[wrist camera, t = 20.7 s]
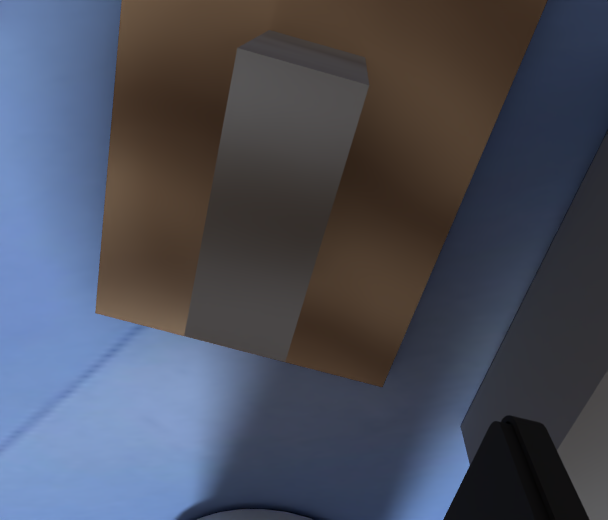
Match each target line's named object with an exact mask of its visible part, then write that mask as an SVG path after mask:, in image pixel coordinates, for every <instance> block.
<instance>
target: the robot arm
mask: <svg viewBox="0 0 608 520" xmlns="http://www.w3.org/2000/svg"><path fill="white" fill-rule="evenodd" d="M197 520H313V519H311V518H308V517H304V516H300V515H296V514H292V513H289V512H283V511H275V510H267V509H238V510H231V511H224V512H218V513H215V514H212V515H208V516H205V517H202V518H199V519H197ZM443 520H590V519H589V517H588V515H587V513H586V511H585V509H584V507H583V505H582V502H581V500H580V498H579V496H578V494H577V492H576V490H575V488H574V486H573V483H572V481H571V479H570V477H569V475H568V473H567V471H566V469H565V467H564V464H563V462H562V460H561V458H560V456H559V454H558V452H557V450H556V448H555V445H554V443H553V441H552V439H551V437H550V435H549V433H548V431H547V429H546V427H545V426H544V424H542V423H540V422H536V421H532V420H528V419H524V418H519V417H515V416H511V415H507V416H505V417H504V418H503V419H502V420H501V422H499V421H494V422H492V423H491V425H490V426H489V428H488V430H487V432H486V434H485V436H484V438H483V440H482V442H481V444H480V446H479V448H478V450H477V453H476V455H475V457H474V459H473V461H472V463H471V465H470V467H469V469H468V471H467V473H466V475H465V477H464V479H463V481H462V483H461V485H460V487H459V489H458V491H457V493H456V495H455V497H454V499H453V501H452V503H451V505H450V507H449V509H448V511H447V513H446V515H445V517H444V519H443Z"/></svg>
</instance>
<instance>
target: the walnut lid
mask: <svg viewBox="0 0 608 520" xmlns="http://www.w3.org/2000/svg"><path fill="white" fill-rule="evenodd" d="M547 1H548V0H122V3H121V15H120V27H119V39H118V51H117V62H116V74H115V86H114V98H113V110H112V122H111V134H110V146H109V157H108V169H107V181H106V193H105V205H104V217H103V229H102V241H101V252H100V264H99V276H98V288H97V300H96V312H95V313H97V314H101V315H105V316H109V317H113V318H116V319H120V320H124V321H128V322H132V323H136V324H140V325H143V326H147V327H151V328H155V329H159V330H163V331H167V332H171V333H174V334H178V335H182V336H186V337H190V338H194V339H198V340H201V341H205V342H209V343H213V344H217V345H221V346H225V347H229V348H232V349H236V350H240V351H244V352H248V353H252V354H256V355H259V356H263V357H267V358H271V359H275V360H279V361H283V362H287V363H290V364H294V365H298V366H302V367H306V368H310V369H314V370H317V371H321V372H325V373H329V374H333V375H337V376H341V377H345V378H348V379H352V380H356V381H360V382H364V383H368V384H372V385H376V386H379V387H383V385H384V382H385V380H386V378H387V375H388V373H389V371H390V368H391V366H392V364H393V361H394V359H395V357H396V354H397V352H398V350H399V347H400V345H401V343H402V340H403V338H404V336H405V333H406V331H407V329H408V326H409V324H410V322H411V319H412V317H413V315H414V312H415V310H416V308H417V305H418V303H419V300H420V298H421V296H422V293H423V291H424V289H425V286H426V284H427V282H428V279H429V277H430V275H431V272H432V270H433V268H434V265H435V263H436V261H437V258H438V256H439V254H440V251H441V249H442V247H443V244H444V242H445V240H446V237H447V235H448V233H449V230H450V228H451V226H452V223H453V221H454V219H455V216H456V214H457V211H458V209H459V207H460V204H461V202H462V200H463V197H464V195H465V193H466V190H467V188H468V186H469V183H470V181H471V179H472V176H473V174H474V172H475V169H476V167H477V165H478V162H479V160H480V158H481V155H482V153H483V151H484V148H485V146H486V144H487V141H488V139H489V137H490V134H491V132H492V130H493V127H494V125H495V123H496V120H497V118H498V115H499V113H500V111H501V108H502V106H503V104H504V101H505V99H506V97H507V94H508V92H509V90H510V87H511V85H512V83H513V80H514V78H515V76H516V73H517V71H518V69H519V66H520V64H521V62H522V59H523V57H524V55H525V52H526V50H527V48H528V45H529V43H530V41H531V38H532V36H533V34H534V31H535V29H536V26H537V24H538V22H539V19H540V17H541V15H542V12H543V10H544V8H545V5H546V3H547Z"/></svg>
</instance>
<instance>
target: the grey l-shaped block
mask: <svg viewBox="0 0 608 520" xmlns="http://www.w3.org/2000/svg"><path fill="white" fill-rule="evenodd" d="M507 415H511V416H515V417H519V418H524V419H528V420H532V421H536V422H540V423H542V424H544V426H545V427H546V429H547V431H548V433H549V435H550V437H551V439H552V441H553V443H554V445H555V448H556V450H557V452H558V454H559V456H560V458H561V460H562V462H563V464H564V467H565V469H566V471H567V473H568V475H569V477H570V479H571V481H572V483H573V486H574V488H575V490H576V492H577V494H578V496H579V498H580V500H581V502H582V505H583V507H584V509H585V511H586V513H587V515H588V517H589V519H590V520H608V131H607V133H606V135H605V137H604V139H603V141H602V143H601V145H600V147H599V149H598V152H597V154H596V156H595V158H594V160H593V162H592V164H591V166H590V168H589V170H588V172H587V174H586V176H585V178H584V180H583V182H582V184H581V186H580V188H579V190H578V192H577V194H576V196H575V198H574V200H573V202H572V204H571V206H570V208H569V210H568V212H567V214H566V216H565V218H564V220H563V222H562V224H561V226H560V228H559V230H558V232H557V234H556V236H555V238H554V240H553V242H552V244H551V246H550V248H549V250H548V252H547V254H546V256H545V258H544V260H543V262H542V264H541V266H540V268H539V270H538V272H537V274H536V276H535V278H534V280H533V282H532V284H531V286H530V288H529V290H528V292H527V294H526V296H525V298H524V300H523V302H522V304H521V306H520V308H519V310H518V312H517V314H516V316H515V318H514V320H513V322H512V324H511V326H510V328H509V330H508V332H507V334H506V336H505V338H504V340H503V342H502V344H501V346H500V348H499V350H498V352H497V354H496V356H495V358H494V360H493V362H492V364H491V366H490V368H489V370H488V372H487V375H486V377H485V379H484V381H483V383H482V385H481V387H480V389H479V391H478V393H477V395H476V397H475V399H474V401H473V403H472V405H471V407H470V409H469V411H468V413H467V415H466V417H465V419H464V421H463V423H462V425H461V430H462V434H463V438H464V442H465V447H466V451H467V455H468V459H469V463H470V465H471V463H472V461H473V459H474V457H475V455H476V453H477V450H478V448H479V446H480V444H481V442H482V440H483V438H484V436H485V434H486V432H487V430H488V428H489V426H490V425H491V423H492V422H494V421H499V422H501V420H502V419H503V418H504V417H505V416H507Z"/></svg>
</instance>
